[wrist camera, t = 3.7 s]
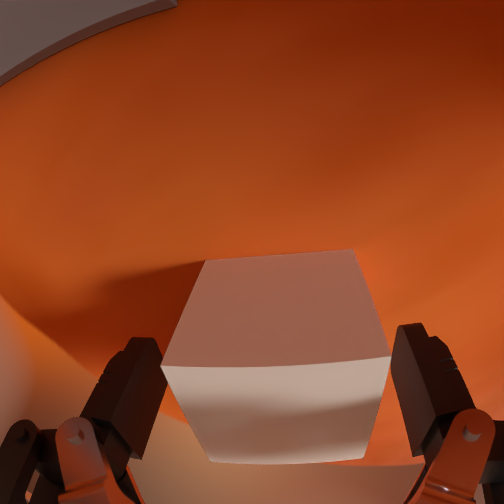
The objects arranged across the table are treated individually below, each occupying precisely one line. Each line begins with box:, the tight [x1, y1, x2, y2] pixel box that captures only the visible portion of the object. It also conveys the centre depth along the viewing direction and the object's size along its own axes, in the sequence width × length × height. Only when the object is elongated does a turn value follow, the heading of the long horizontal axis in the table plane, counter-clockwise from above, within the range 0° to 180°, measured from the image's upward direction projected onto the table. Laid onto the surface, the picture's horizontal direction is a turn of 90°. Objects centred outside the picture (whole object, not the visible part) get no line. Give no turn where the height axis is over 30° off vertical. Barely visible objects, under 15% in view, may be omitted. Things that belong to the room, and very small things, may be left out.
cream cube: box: [160, 249, 391, 464], centre depth 10 cm, size 5×5×5 cm
